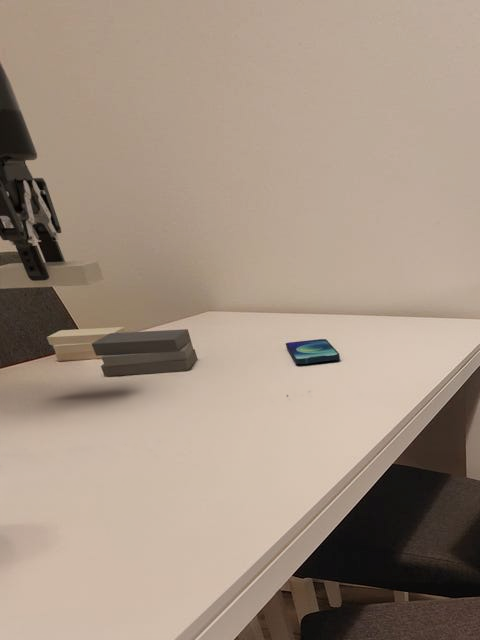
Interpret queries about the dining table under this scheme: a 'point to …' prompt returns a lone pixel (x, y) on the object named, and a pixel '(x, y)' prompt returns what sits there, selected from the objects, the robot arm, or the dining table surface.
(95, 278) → the beige flat block
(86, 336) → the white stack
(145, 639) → the dining table surface
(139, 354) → the grey stack
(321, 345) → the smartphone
